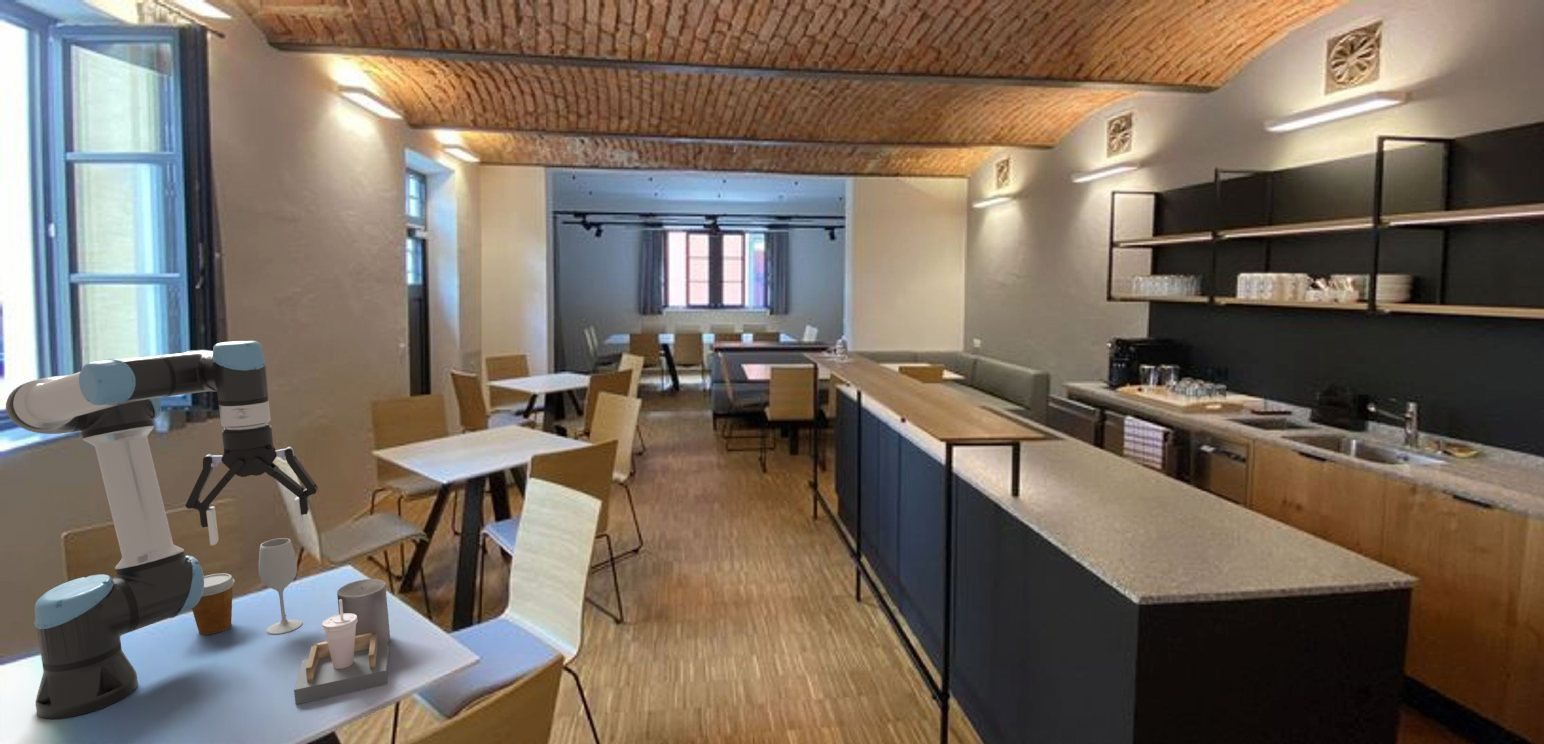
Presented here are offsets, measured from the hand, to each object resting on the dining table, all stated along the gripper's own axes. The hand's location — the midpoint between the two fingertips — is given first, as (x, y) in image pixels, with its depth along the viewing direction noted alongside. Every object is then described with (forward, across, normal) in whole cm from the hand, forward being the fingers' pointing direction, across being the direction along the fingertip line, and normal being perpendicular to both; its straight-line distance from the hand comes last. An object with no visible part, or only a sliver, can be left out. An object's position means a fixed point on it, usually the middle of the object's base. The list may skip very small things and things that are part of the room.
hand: (258, 537), depth 142 cm
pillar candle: (+35, +14, +21) cm, 43 cm away
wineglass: (+35, -4, +40) cm, 53 cm away
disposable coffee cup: (+35, -19, +47) cm, 62 cm away
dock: (+34, +11, +6) cm, 37 cm away
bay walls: (+31, +11, +7) cm, 34 cm away
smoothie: (+32, +11, +7) cm, 34 cm away
